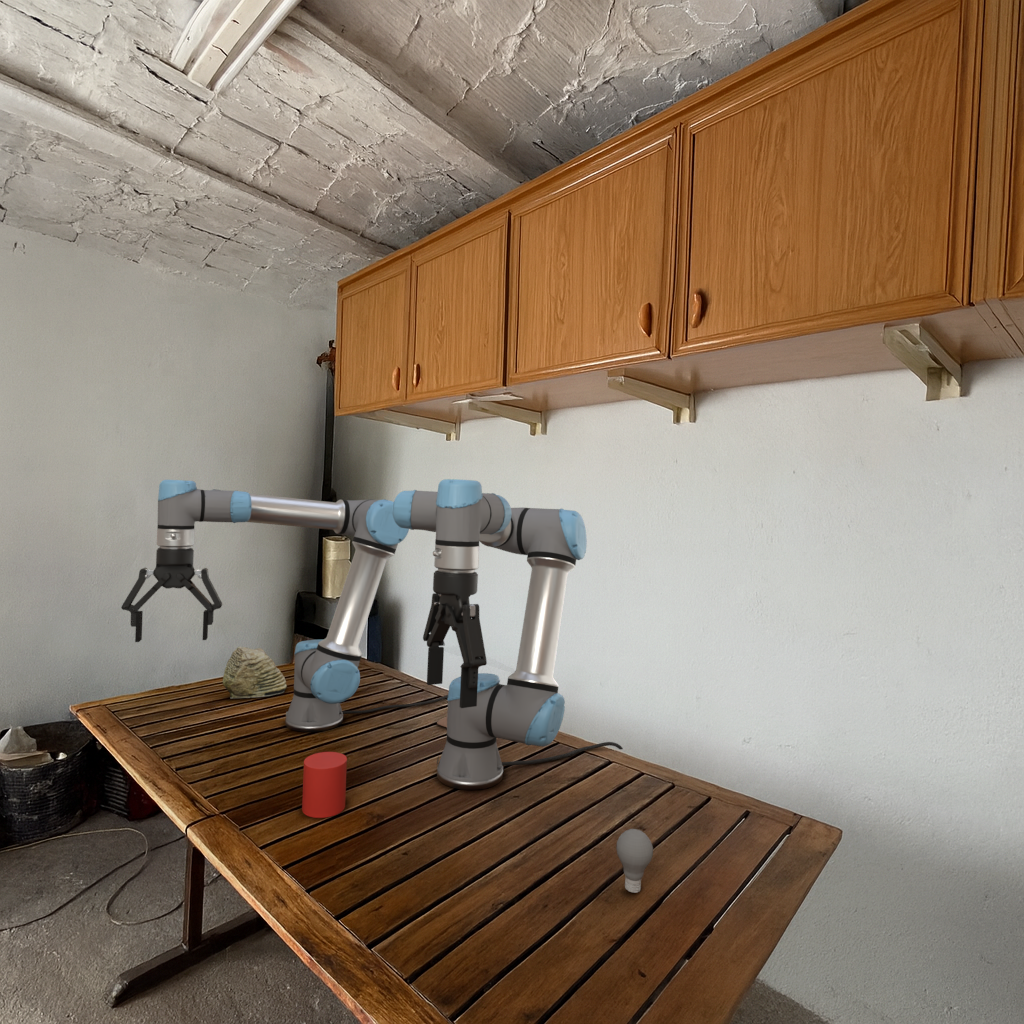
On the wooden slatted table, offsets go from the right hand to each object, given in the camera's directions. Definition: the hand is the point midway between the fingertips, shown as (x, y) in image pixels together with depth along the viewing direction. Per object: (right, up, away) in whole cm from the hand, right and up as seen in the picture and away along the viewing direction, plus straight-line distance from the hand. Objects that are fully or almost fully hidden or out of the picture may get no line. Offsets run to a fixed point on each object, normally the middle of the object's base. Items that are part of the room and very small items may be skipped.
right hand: (450, 694), depth 108 cm
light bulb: (+31, -32, -2) cm, 45 cm away
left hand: (-67, +2, +37) cm, 77 cm away
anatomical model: (-4, -29, +73) cm, 79 cm away
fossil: (-70, -26, +90) cm, 117 cm away
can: (-28, -29, +21) cm, 46 cm away
